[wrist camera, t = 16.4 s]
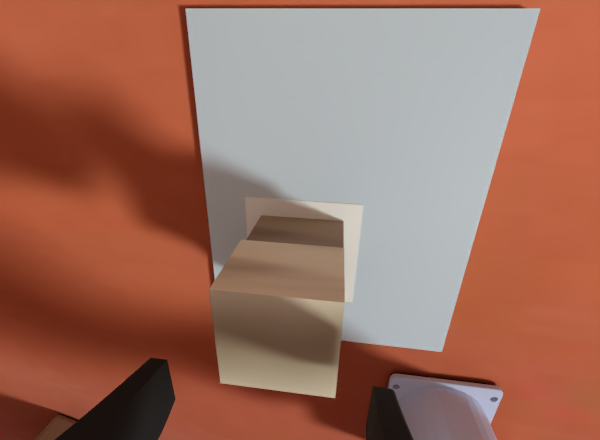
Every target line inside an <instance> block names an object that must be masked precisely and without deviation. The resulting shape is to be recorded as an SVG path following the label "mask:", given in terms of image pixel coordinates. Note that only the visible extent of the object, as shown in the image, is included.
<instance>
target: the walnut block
mask: <svg viewBox="0 0 600 440" xmlns="http://www.w3.org/2000/svg"><path fill="white" fill-rule="evenodd" d="M246 240H252V241H264V242H277V243H290V244H302V245H315V246H328V247H340V248H344V221H336V220H322V219H307V218H293V217H278V216H264V215H261V217H260V218H259V220H258V221H257V223H256V225H255V226H254V228H253V229H252V231H251V233H250V234H249V236H248V238H247V239H246Z"/></svg>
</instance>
